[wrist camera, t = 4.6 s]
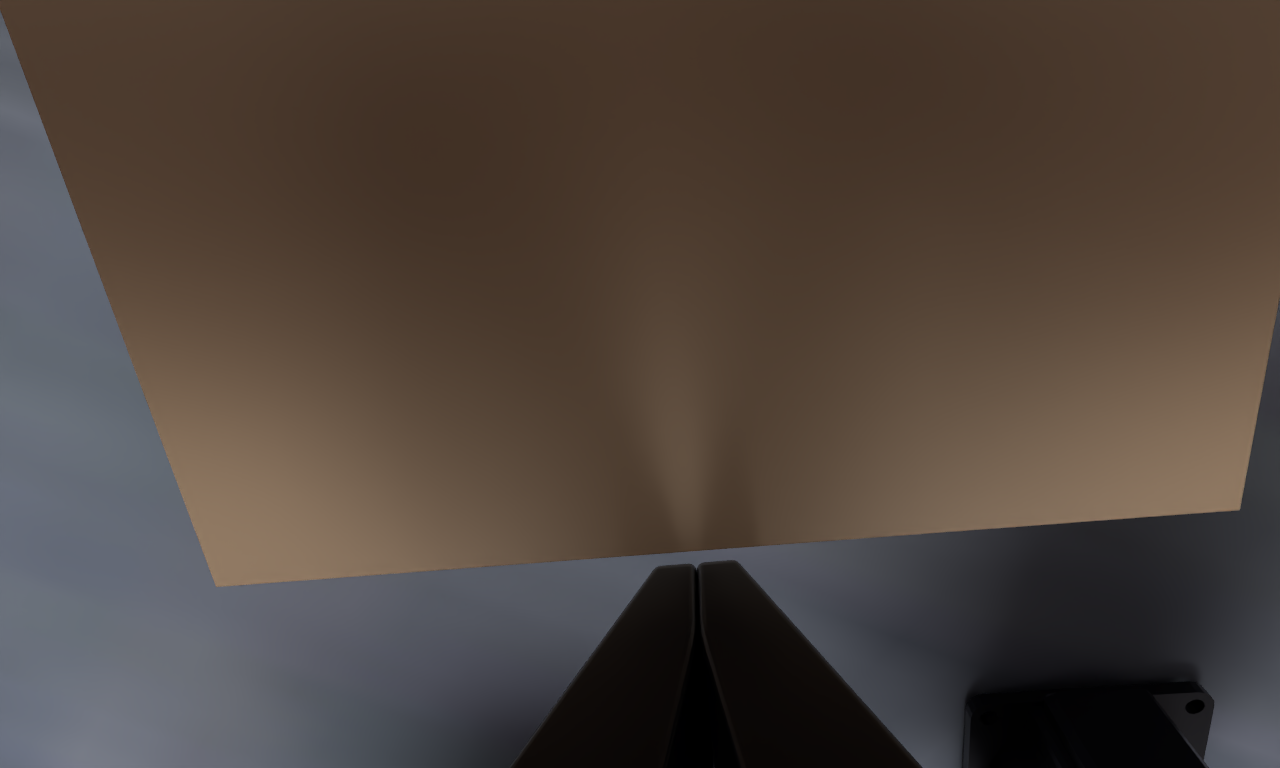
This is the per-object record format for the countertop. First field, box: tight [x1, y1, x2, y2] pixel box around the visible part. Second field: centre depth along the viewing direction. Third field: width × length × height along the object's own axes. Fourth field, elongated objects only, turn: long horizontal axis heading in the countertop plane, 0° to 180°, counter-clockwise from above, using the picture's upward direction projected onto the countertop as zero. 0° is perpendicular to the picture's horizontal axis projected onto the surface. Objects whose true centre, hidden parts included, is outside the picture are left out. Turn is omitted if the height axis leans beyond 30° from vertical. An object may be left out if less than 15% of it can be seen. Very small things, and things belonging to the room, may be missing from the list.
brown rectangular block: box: [0, 0, 1280, 587], centre depth 12 cm, size 5×9×12 cm, turn 97°
